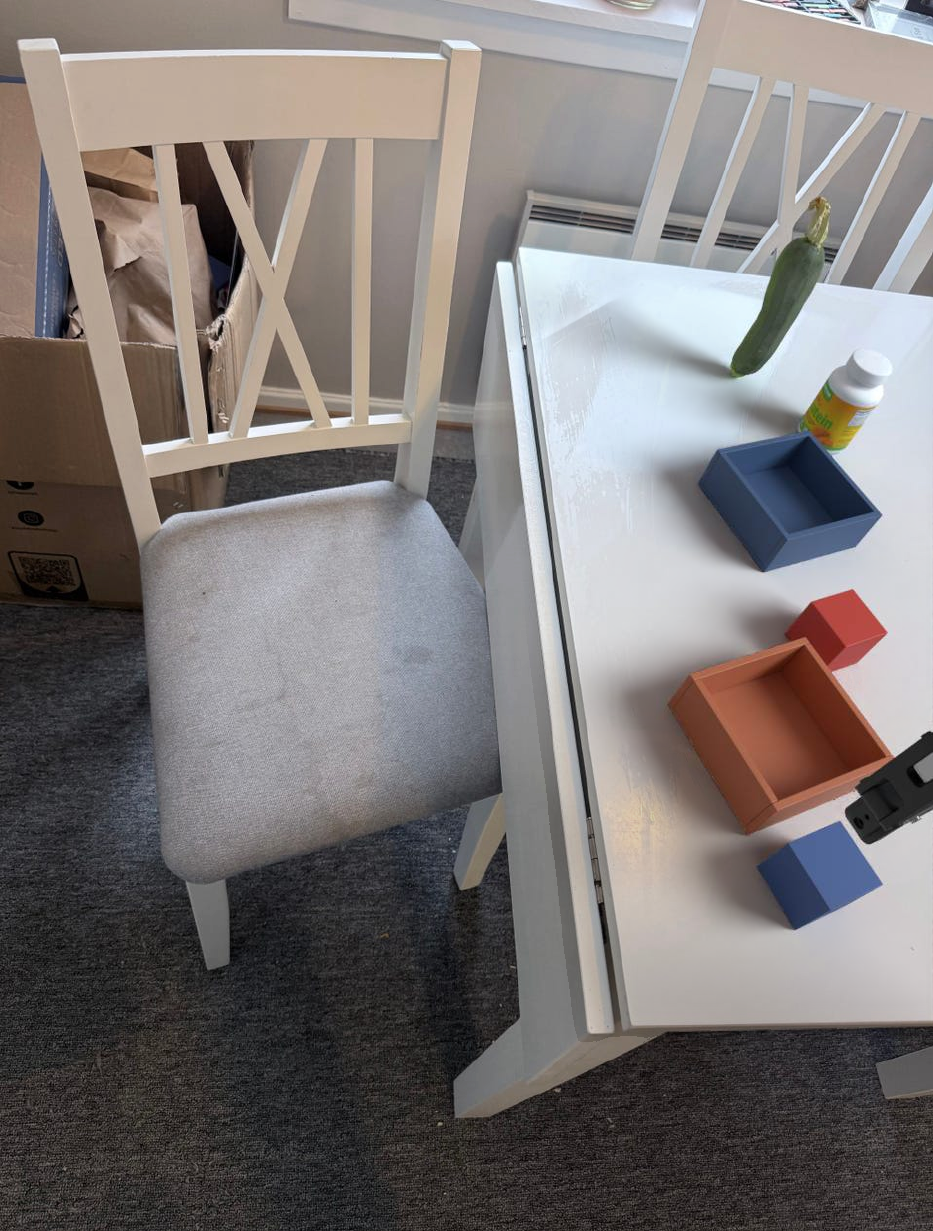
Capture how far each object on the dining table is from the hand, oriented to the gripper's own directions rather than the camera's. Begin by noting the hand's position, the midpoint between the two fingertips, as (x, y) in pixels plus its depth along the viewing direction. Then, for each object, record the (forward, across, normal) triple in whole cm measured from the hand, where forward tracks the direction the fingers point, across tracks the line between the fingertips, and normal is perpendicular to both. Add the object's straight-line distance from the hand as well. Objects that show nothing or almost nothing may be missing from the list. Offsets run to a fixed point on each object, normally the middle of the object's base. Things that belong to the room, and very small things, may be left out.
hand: (913, 802), depth 48 cm
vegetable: (+14, +28, +48) cm, 57 cm away
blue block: (+13, 0, 0) cm, 13 cm away
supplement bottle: (+13, +32, +38) cm, 51 cm away
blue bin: (+13, +20, +30) cm, 38 cm away
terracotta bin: (+13, +4, +10) cm, 17 cm away
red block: (+13, +14, +16) cm, 25 cm away
